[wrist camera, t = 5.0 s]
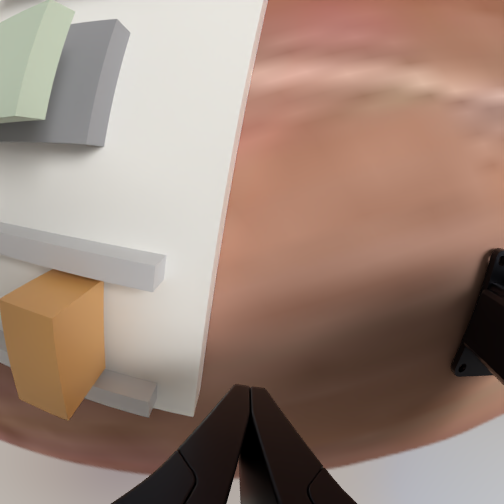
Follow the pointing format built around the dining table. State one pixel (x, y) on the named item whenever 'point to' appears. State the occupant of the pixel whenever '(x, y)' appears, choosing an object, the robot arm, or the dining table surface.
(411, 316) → the dining table surface
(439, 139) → the dining table surface
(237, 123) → the panel
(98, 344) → the orange rectangular block
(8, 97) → the rocker
